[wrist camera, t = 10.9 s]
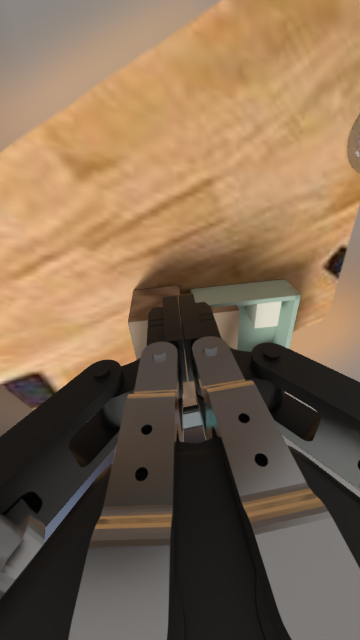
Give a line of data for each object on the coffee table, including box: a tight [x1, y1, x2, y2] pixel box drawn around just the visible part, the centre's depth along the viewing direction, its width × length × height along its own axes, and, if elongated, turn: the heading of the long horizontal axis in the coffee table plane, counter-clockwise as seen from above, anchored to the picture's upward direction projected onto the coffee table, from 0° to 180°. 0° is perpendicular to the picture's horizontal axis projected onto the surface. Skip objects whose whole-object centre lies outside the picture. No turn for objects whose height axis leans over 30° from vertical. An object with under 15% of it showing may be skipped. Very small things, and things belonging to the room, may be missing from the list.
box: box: [191, 279, 301, 352], centre depth 47 cm, size 17×16×6 cm
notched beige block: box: [128, 285, 240, 399], centre depth 45 cm, size 16×18×10 cm
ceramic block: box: [246, 301, 282, 328], centre depth 44 cm, size 5×5×4 cm
